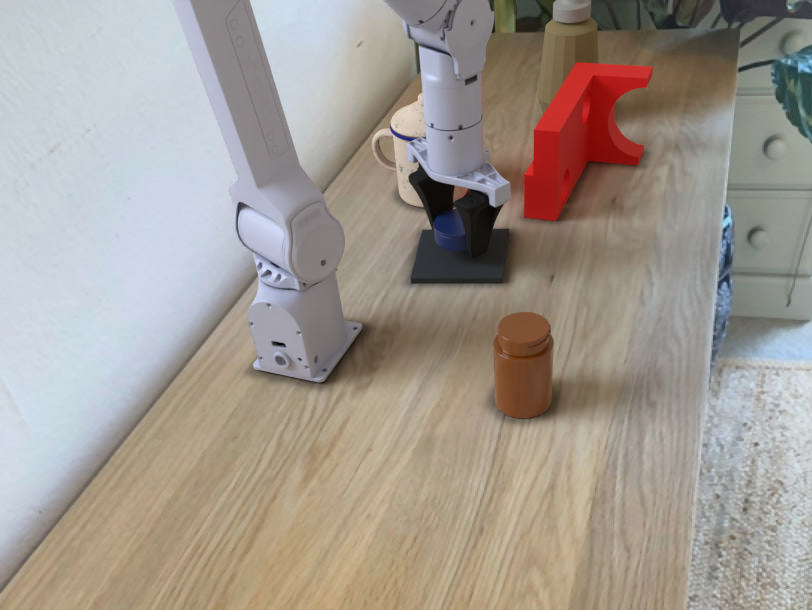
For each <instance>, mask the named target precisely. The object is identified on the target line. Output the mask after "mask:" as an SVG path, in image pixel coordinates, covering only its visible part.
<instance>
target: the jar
mask: <svg viewBox="0 0 812 610" xmlns="http://www.w3.org/2000/svg"><path fill="white" fill-rule="evenodd" d="M551 333H552V328H551V324H550V323H549V321H548V320H547V319H546V318H545V317H544V316H542V315H540V314H538V313H536V312H531V311H518V312H513V313H510V314H508V315H506V316H505V317H503V318H502V319H501V320H500V321H499V323H498V325H497V334H496V335H495V337H494V338H493V342H492V346H493V347H492V349H493V354H492V355H493V385H494V386H493V387H494V389H493V391H494V404H495V406H496V408H497V410H498V411H500V412H501V413H502V414H503V415H505V416H507V417H511V418H515V419H530V418H535V417H537V416H540V415H543V414H544V413H546V411H547V410H548V409H549V408H550V407H551V404H552V399H553V373H554V349H555V341H554V338H553V335H552V334H551Z"/></svg>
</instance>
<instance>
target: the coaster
mask: <svg viewBox="0 0 812 610" xmlns="http://www.w3.org/2000/svg"><path fill="white" fill-rule="evenodd" d="M509 236H510V228H493V230H492V234H491V238H490V242H489V246H488V250H487V252H486V253H484V254H482V255H480V256H478V257H476V258H472V257H470V256H469V253H468V250H465V251H451V250H446V249H444V248H441V247H440V246H438V245H437V244H436V242H435V238H434V233H433V231H432V228H431V229H422V230H421V234H420V238H419V242H418V245H417V249H416V250H417V251H416V254H415V258H414V262H413V266H412V270H411V275H410V283H411V284H416V283H417V284H465V283H466V284H503V283H504V279H505V278H504V277H505V270H506V269H505V268H506V262H507V261H506V260H507V253H508V245H509Z"/></svg>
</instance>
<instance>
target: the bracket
mask: <svg viewBox="0 0 812 610" xmlns="http://www.w3.org/2000/svg"><path fill="white" fill-rule="evenodd" d="M653 72H654V66H648V65H647V66H646V65H633V64H632V65H631V64H629V65H628V64H613V63H598V64H597V63H579V62H576V64H575V65H574V67H573V69H572V70H571V72H570V73H569V75H568V77H567V78H566V80H565V81H564V83H563V84H562V86H561V88H560V89H559V91H558V92H557V94H556V95H555V97H554V99H553V100H552V102H551V103H550V105H549V107H548V108H547V110H546V111H545V113H544V114H543V113H542V116H541V117H540V119H539V121H538V122H537V124H536V125H535V127H534V129H533V148H532V149H533V150H532V151H533V155H532V156H533V157H532V161H531V163H530V165H529V167H528V168H527V170H526V171H525V173H524V174H523V177H524V178H523V217H524V218H527V219H535V220H545V221H554V222H557V220H558V219H559V217H560V215H561V213H562V212H563V209H564V208H565V205H566V203H567V201H568V199H569V198H570V196H571V194H572V192H573V190H574V189H575V186H576V184H577V182H578V180H579V179H580V177H581V175H582V174H583V171H584V169H585V167H586V165H587V164H588V162H596V163H604V164H615V165H616V164H617V165H626V166H639V164H640V162H641V159H642V158H643V155H644V153H645V152H644V151H645V144H642V143H637V142H635V141H632V140H631V139H629V138H628V137H627V136H625V135H624V133H622V132H621V130H620V128H619V127H618V124H617V121H616V118H615V115H616V114H615V108H616V103H617V101H618V100H619V99H620V98H621V97H622V96H624V95H625V94H627V93H628V92H631V91H634V90H637V89H646V88H648V86H649V84H650V81H651V80H652V77H653V74H654V73H653Z"/></svg>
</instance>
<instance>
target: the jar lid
mask: <svg viewBox="0 0 812 610" xmlns="http://www.w3.org/2000/svg"><path fill="white" fill-rule="evenodd" d="M433 226H434V238H435V242H436V244H437V245H438V246H440V247H441V248H444V249H446V250H451V251H465V250H467V244H466V236H465V230H464V226H463V222H462V219H461V217H460V214H459V212H458V210H457V209H456V208H453V209H451V210H448V211H445V212H443V213H441V214H440V215H438V216H437V217H436V218H435V220H434V223H433Z"/></svg>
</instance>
